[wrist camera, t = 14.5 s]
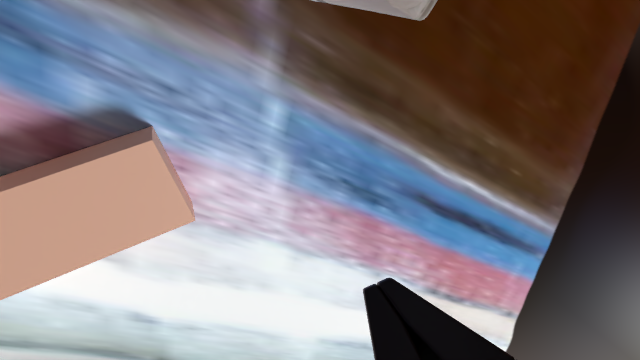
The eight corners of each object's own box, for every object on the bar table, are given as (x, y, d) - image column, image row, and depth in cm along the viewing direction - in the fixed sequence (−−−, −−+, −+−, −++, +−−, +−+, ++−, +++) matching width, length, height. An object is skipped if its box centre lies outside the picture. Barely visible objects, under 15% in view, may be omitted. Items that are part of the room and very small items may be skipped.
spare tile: (152, 139, 16) (-105, 228, 13) (195, 220, 18) (-12, 304, 16) (152, 126, 17) (-77, 202, 15) (191, 201, 20) (3, 276, 18)
